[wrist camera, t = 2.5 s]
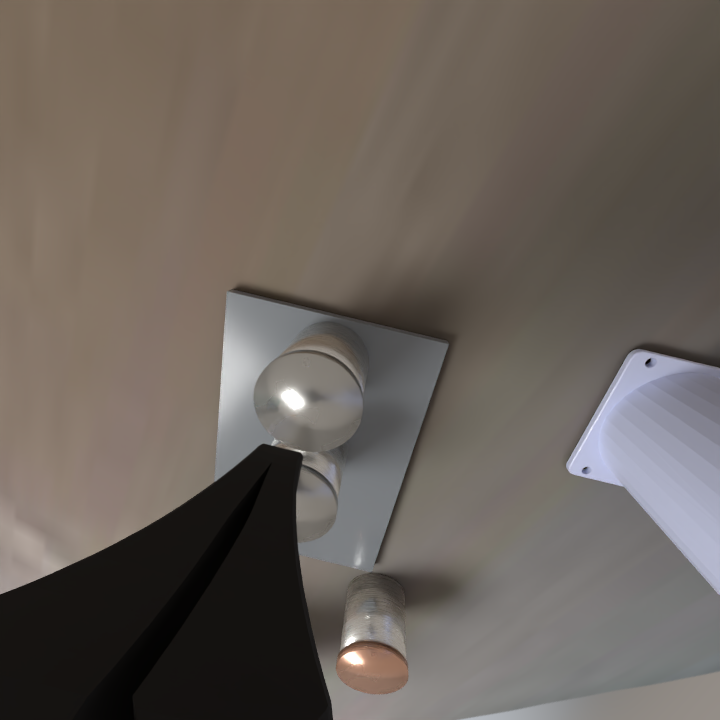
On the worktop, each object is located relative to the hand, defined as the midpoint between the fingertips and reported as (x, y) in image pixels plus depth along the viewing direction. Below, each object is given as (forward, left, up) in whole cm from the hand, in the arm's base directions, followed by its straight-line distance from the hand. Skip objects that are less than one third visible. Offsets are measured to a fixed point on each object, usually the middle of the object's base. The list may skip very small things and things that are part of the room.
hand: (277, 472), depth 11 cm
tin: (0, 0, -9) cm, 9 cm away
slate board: (0, +6, -9) cm, 11 cm away
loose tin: (-7, +18, -10) cm, 22 cm away
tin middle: (0, +5, -9) cm, 10 cm away
